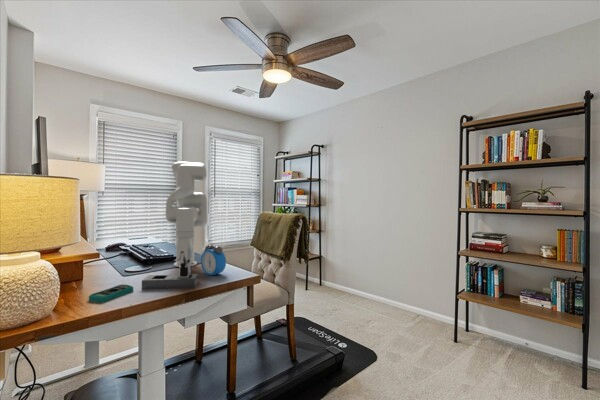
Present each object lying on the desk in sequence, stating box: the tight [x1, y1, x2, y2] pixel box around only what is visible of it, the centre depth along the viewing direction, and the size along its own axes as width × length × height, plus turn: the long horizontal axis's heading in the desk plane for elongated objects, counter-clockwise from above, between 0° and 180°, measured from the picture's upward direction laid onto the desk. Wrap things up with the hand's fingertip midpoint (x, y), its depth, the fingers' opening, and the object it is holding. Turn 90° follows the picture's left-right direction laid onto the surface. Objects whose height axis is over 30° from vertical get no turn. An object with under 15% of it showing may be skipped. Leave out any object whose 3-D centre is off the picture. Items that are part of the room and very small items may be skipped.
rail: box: [141, 273, 199, 290], centre depth 130 cm, size 8×22×4 cm, turn 98°
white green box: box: [178, 261, 192, 278], centre depth 131 cm, size 4×4×7 cm
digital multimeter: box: [88, 284, 134, 304], centre depth 117 cm, size 7×15×3 cm, turn 163°
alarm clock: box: [200, 244, 227, 277], centre depth 149 cm, size 13×6×15 cm, turn 56°
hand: (185, 274), depth 131 cm, fingers closed on white green box, 4 cm apart
